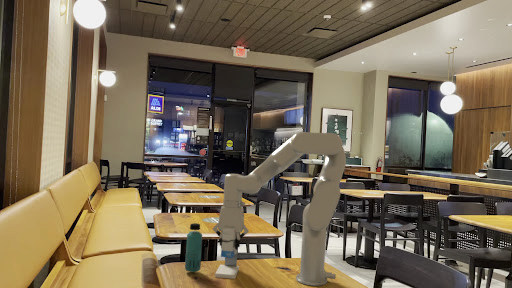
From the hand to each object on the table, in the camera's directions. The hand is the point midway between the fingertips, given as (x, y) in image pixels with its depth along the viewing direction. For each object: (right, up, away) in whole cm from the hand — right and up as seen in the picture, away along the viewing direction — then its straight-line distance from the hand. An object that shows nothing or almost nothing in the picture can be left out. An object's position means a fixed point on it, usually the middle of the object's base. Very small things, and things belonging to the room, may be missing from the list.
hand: (229, 247), depth 161 cm
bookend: (0, -9, +6) cm, 11 cm away
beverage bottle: (-15, -10, -1) cm, 18 cm away
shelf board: (-1, -11, +1) cm, 11 cm away
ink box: (0, -3, 0) cm, 3 cm away
